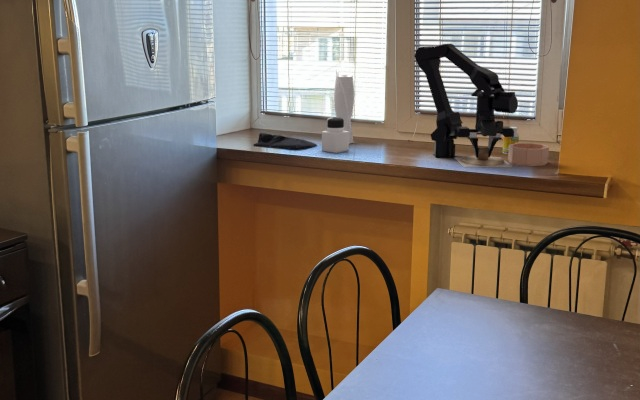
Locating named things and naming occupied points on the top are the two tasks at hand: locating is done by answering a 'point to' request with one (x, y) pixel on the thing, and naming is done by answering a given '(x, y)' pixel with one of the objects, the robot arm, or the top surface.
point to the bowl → (528, 154)
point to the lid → (482, 158)
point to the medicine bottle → (335, 136)
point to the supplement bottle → (510, 141)
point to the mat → (483, 166)
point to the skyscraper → (344, 100)
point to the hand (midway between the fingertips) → (482, 157)
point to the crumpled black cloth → (282, 142)
